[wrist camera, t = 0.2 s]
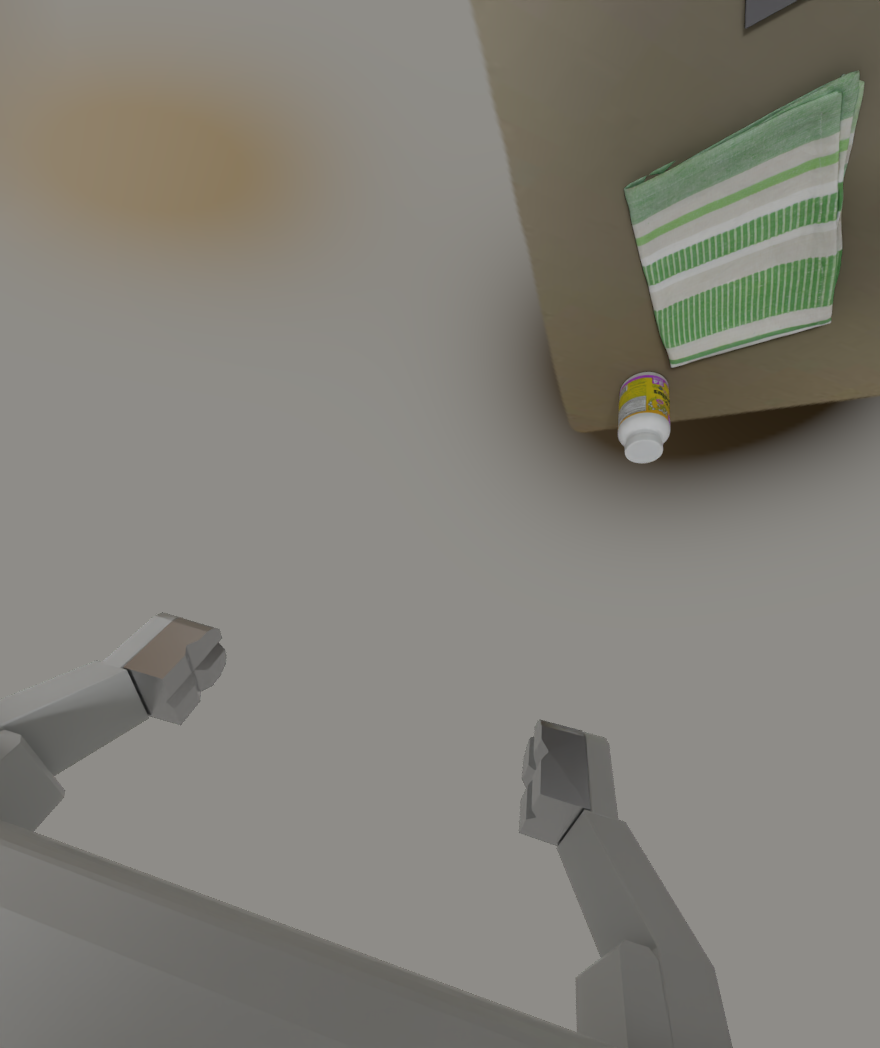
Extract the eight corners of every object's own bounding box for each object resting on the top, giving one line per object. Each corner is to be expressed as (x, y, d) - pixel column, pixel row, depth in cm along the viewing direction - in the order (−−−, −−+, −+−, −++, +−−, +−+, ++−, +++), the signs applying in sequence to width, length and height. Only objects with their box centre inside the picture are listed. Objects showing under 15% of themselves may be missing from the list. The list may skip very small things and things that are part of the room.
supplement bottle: (674, 394, 62) (678, 460, 56) (629, 410, 67) (627, 473, 60) (659, 362, 58) (661, 428, 52) (612, 381, 63) (609, 444, 57)
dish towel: (862, 54, 33) (871, 65, 32) (837, 309, 48) (842, 324, 47) (623, 184, 43) (622, 196, 42) (665, 360, 59) (665, 373, 57)
